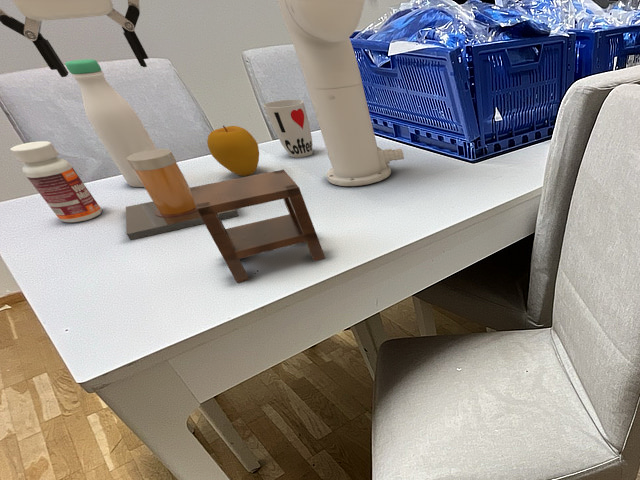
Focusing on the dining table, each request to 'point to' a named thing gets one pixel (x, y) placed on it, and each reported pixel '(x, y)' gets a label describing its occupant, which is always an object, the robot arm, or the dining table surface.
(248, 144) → the apple
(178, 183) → the honey jar
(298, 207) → the rack
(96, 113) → the milk bottle
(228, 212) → the hob
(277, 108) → the cup
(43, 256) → the dining table surface
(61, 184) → the pill bottle
